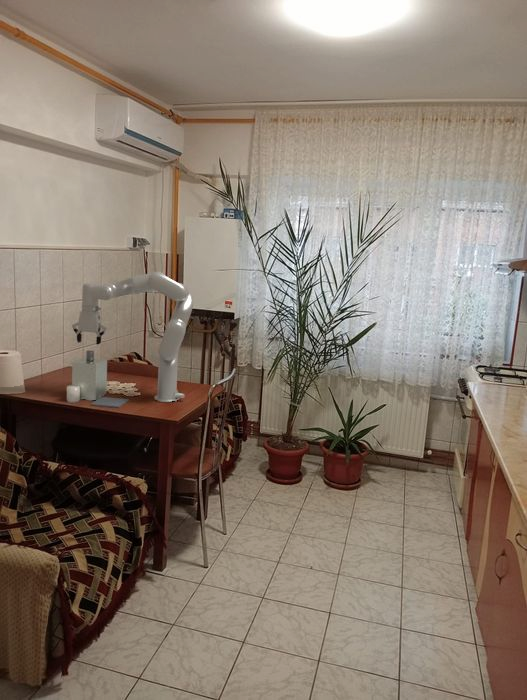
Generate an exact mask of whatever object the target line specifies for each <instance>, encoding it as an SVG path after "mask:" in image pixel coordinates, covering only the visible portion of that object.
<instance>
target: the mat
mask: <svg viewBox="0 0 527 700" xmlns="http://www.w3.org/2000/svg"><path fill="white" fill-rule="evenodd" d="M129 401H130V399H128V398H119V397H108V396H107V397H106V396H103V397H101V398H99V399H97V400H96V401H93V402H91V403H90V405H94V406H93V407H100V406H102V407H103V408H111V407H113V408H112V409H120V408H121V407H123V406H124V405H125V404H126V402H127V403H128V402H129ZM122 405H123V406H122Z"/></svg>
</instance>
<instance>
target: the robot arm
mask: <svg viewBox="0 0 527 700" xmlns="http://www.w3.org/2000/svg"><path fill="white" fill-rule="evenodd" d="M81 290H82V293H81V294H82V295H81V296H82V298H81V310H80V312H79V317H78V322H76V323H73V324H72V325H71V327H72V329H73V331H74V332H75V334H76V341H77V344H78V343H81V342H82V340H83V339H82V336H83V335H82V332H84V333H95V334H96V339H95V341H96V343H95V344H96V345H97V346H98V345H100V344H101V343H102V336H104V334H105V333H106V331H107V327H105V326H104V325H103V324H102V322H101V313H100V312H99V311H101V309H102V308H101V307H99V300H100V301H101V300H102V301H110V300H112V299H114V298H115V299H116V298H118V297H123V296H128V295H140V294H144V293H147V292H151V291H157V293H159V294H162V296H163V295H164V296H165V297H167V298H168V299H170V300H172V301H175V307H174V309H173V311H172V315H171V317H170V320H169V321H168V323H167V325H166V327H165V330H164V333H163V335H162V338H161V341H160V343H159V346H158V350H157V351H158V352H157V353H158V369H157V370H158V372H157V373H158V374H157V375H158V377H157V394H156V395H155V396H154V400H155V401H156V400H157V402H161V403H173V402H172V401H175V402H178V401H179V400H180V398H181V399H182V398H183V399H184V398H185V394H184V393H181V392H180V393H179V390H178V389H177V387H178V385H177V384H178V364H179V350H180V348H181V346H182V342H183V341H184V337H185V334H186V331H187V330H186V329H187V326H188V323H189V320H190V317H191V314H192V311H193V307H194V298H193V294H192V292H191V291H190V289H189V288H188V286H186V285H185V284H184V283H181V282H177V281H175V280H173V279H171V278H170V277H168V276H166V275H165V273H163V272H162V271H153V272H150V273H145V274H141V275H137V276H132V277H129V278H126V279H123V280H120V281H115V282H114V281H113V282H110V283H105V284H102V285H100V284H96V283H84V284H83V285H82V289H81ZM77 327H78V328H77ZM101 329H102V331H101ZM177 400H178V401H177Z"/></svg>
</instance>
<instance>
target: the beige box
mask: <svg viewBox="0 0 527 700" xmlns="http://www.w3.org/2000/svg"><path fill="white" fill-rule="evenodd" d="M85 355H86V357H82V358H80V359H77V360H75V361H72V362H71V366H72V369H71V385H77V386H80V400H82V399H86V400H85V401H92V400H97V399H99V398H101V397H102V396H103V397H105V396H106V395H107V385H108V384H107V383H108V379H107V378H108V359H103V358H95V351H94V350H86V353H85ZM105 394H106V395H105ZM104 395H105V396H104Z"/></svg>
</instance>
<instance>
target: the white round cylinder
mask: <svg viewBox="0 0 527 700" xmlns="http://www.w3.org/2000/svg"><path fill="white" fill-rule="evenodd" d="M80 401H81V399H80V386H77V385H72V384H71V385H66V402H67V403H79V402H80Z"/></svg>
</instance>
